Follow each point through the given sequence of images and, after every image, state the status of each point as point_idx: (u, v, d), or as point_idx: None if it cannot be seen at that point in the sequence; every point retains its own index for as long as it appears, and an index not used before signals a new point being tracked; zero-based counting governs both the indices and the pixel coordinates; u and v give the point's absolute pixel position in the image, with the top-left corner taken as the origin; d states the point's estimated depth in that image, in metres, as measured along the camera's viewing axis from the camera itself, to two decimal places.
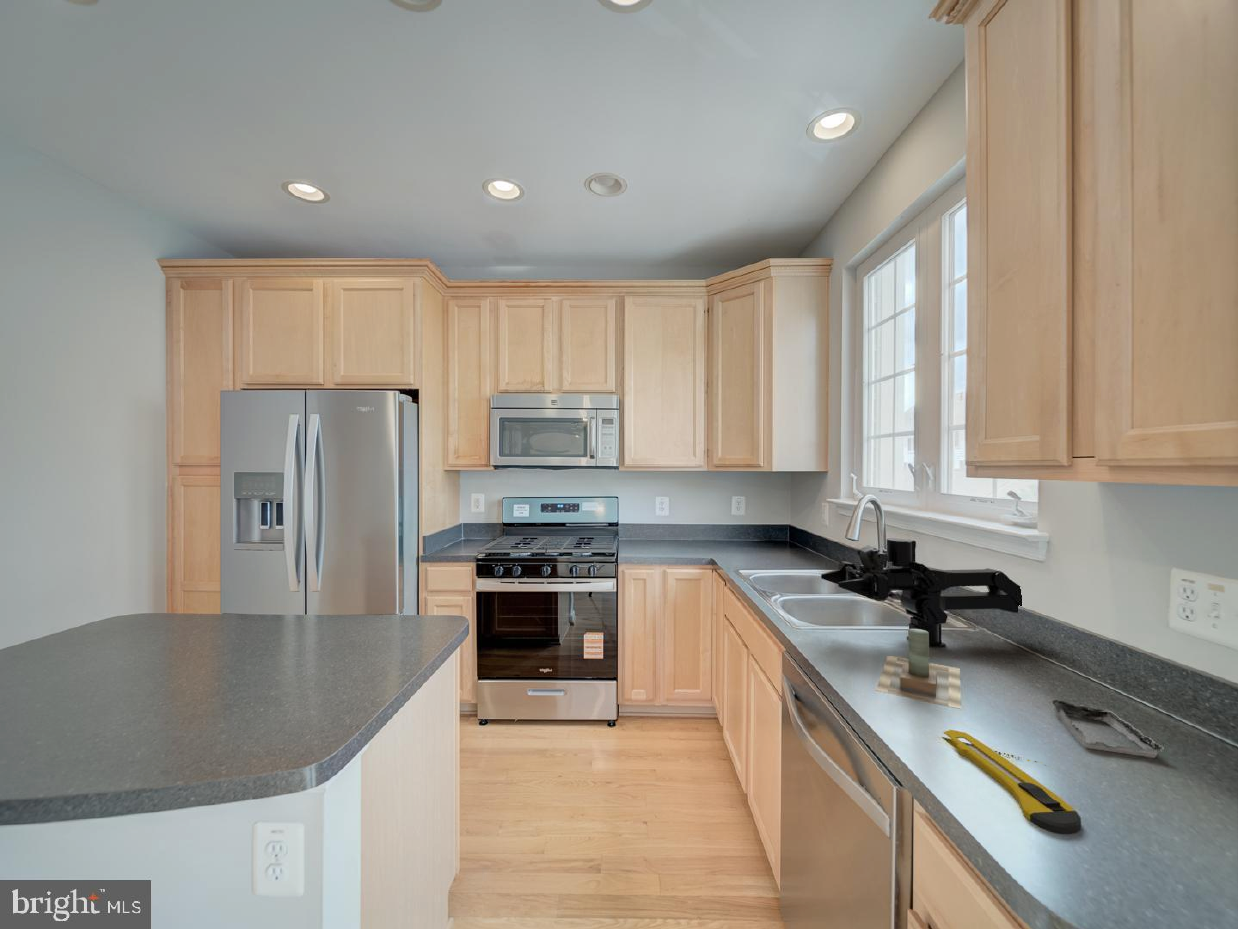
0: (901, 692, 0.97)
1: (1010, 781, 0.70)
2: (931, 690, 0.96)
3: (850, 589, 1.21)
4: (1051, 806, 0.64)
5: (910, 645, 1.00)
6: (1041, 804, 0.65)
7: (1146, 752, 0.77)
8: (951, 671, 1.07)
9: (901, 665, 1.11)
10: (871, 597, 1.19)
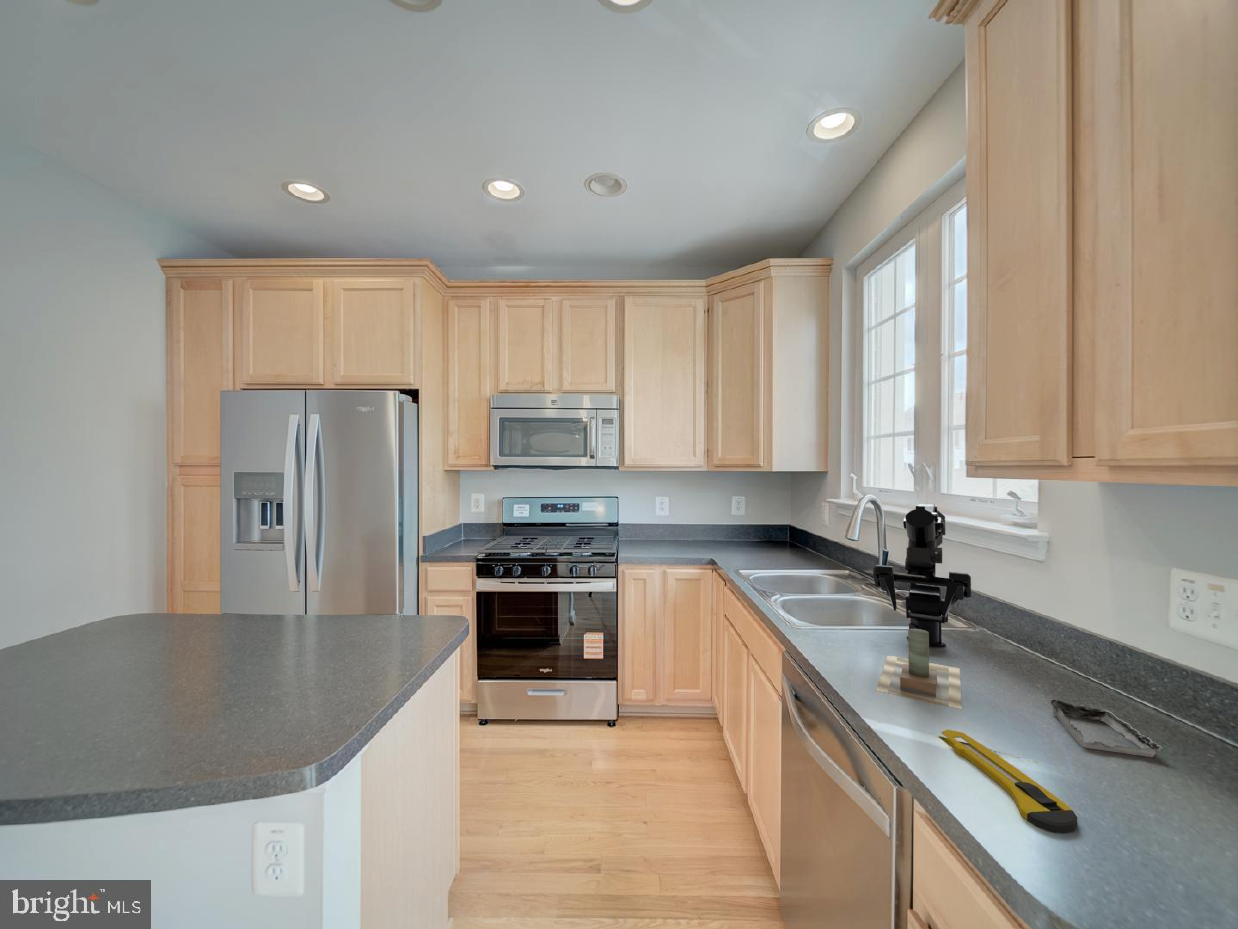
0: (901, 692, 0.97)
1: (1007, 780, 0.70)
2: (931, 690, 0.96)
3: (949, 609, 1.06)
4: (1048, 805, 0.64)
5: (910, 645, 1.00)
6: (1038, 803, 0.65)
7: (1144, 752, 0.77)
8: (951, 671, 1.07)
9: (901, 665, 1.11)
10: (961, 598, 1.08)
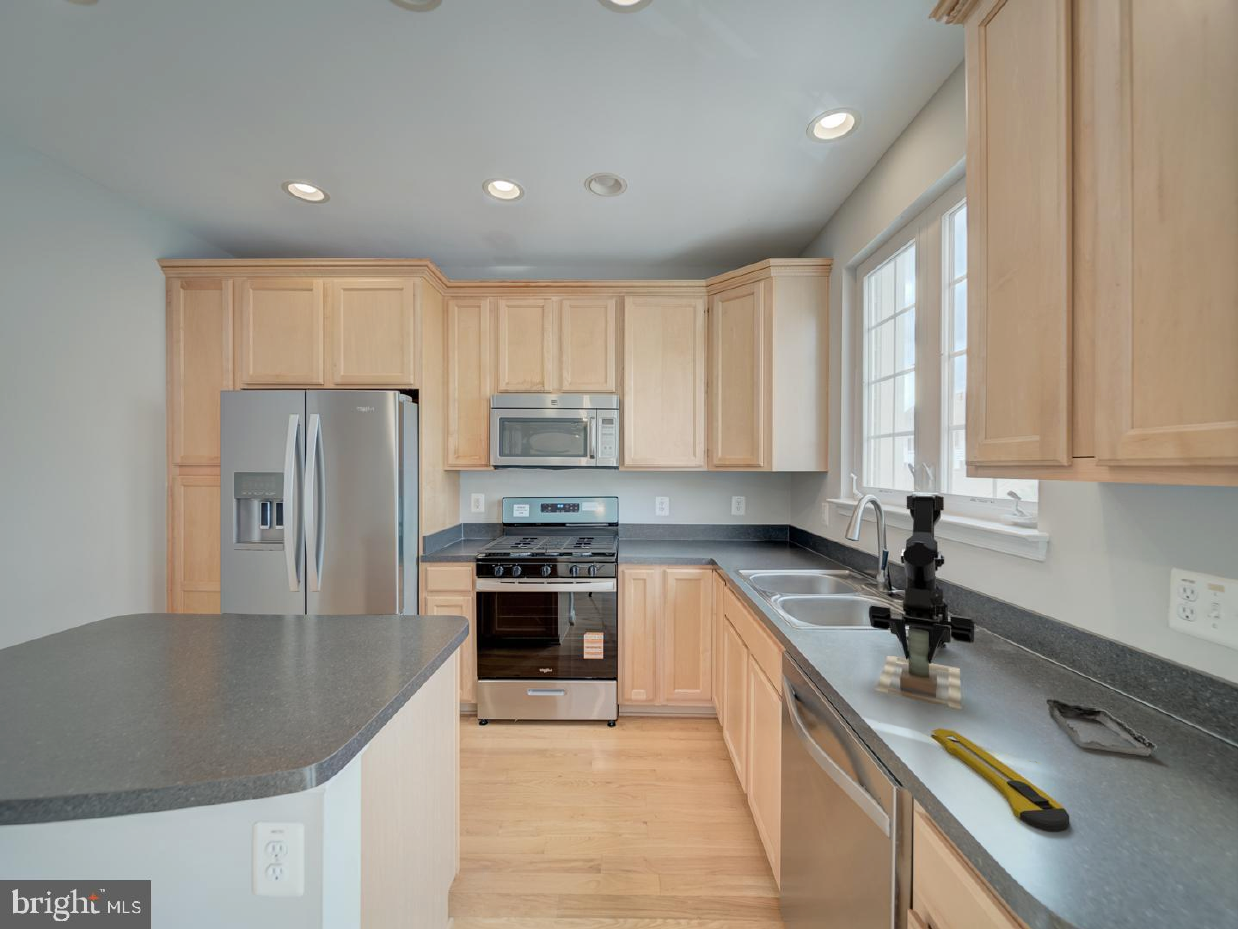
0: (901, 692, 0.97)
1: (999, 779, 0.70)
2: (931, 690, 0.96)
3: (935, 654, 1.00)
4: (1040, 804, 0.65)
5: (910, 645, 1.00)
6: (1030, 802, 0.65)
7: (1140, 750, 0.77)
8: (951, 671, 1.07)
9: (901, 665, 1.11)
10: (948, 641, 1.02)
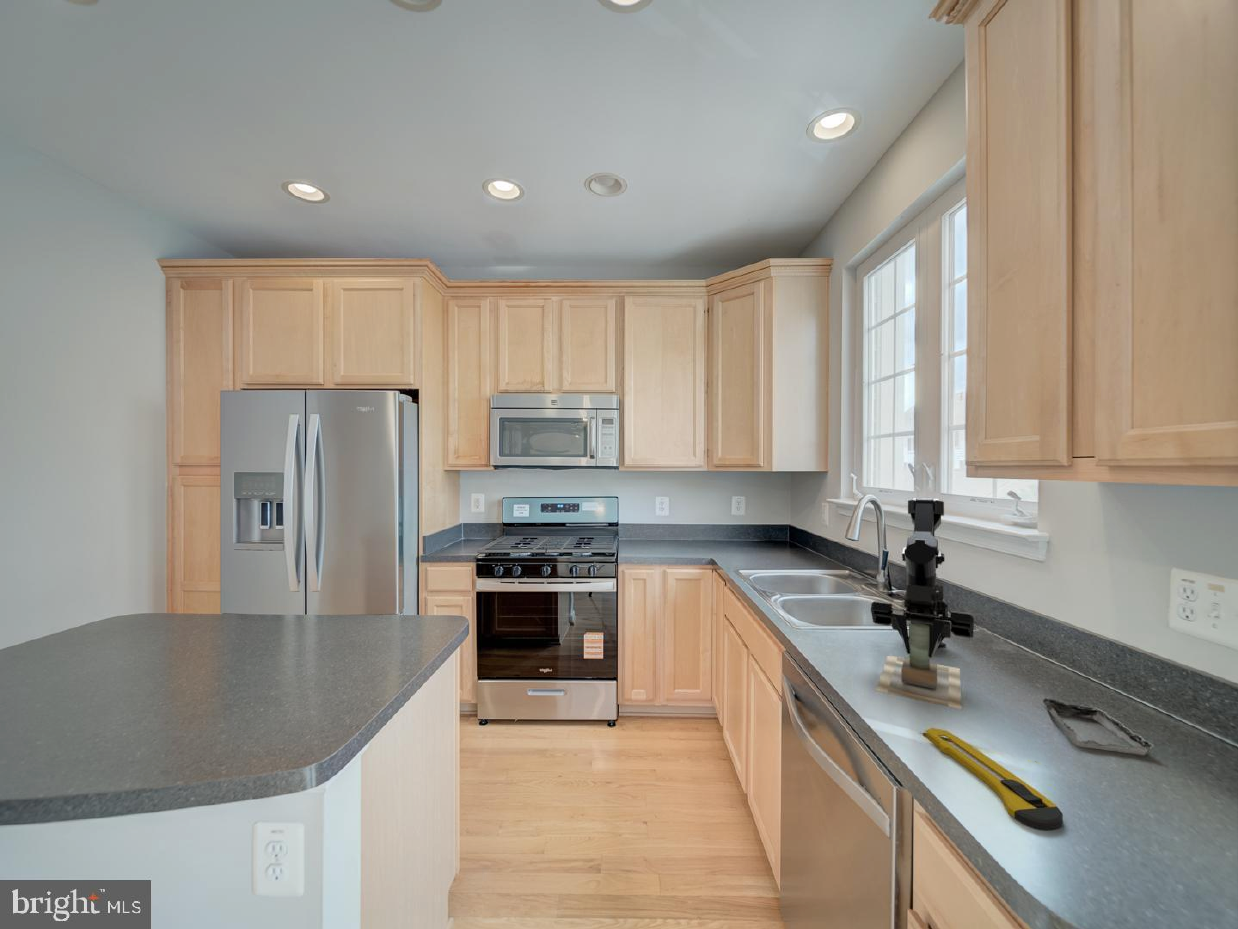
0: (901, 692, 0.97)
1: (993, 778, 0.70)
2: (932, 682, 0.98)
3: None
4: (1034, 802, 0.65)
5: (911, 639, 1.03)
6: (1024, 801, 0.65)
7: (1136, 750, 0.77)
8: (951, 671, 1.07)
9: (901, 665, 1.11)
10: (948, 636, 1.04)
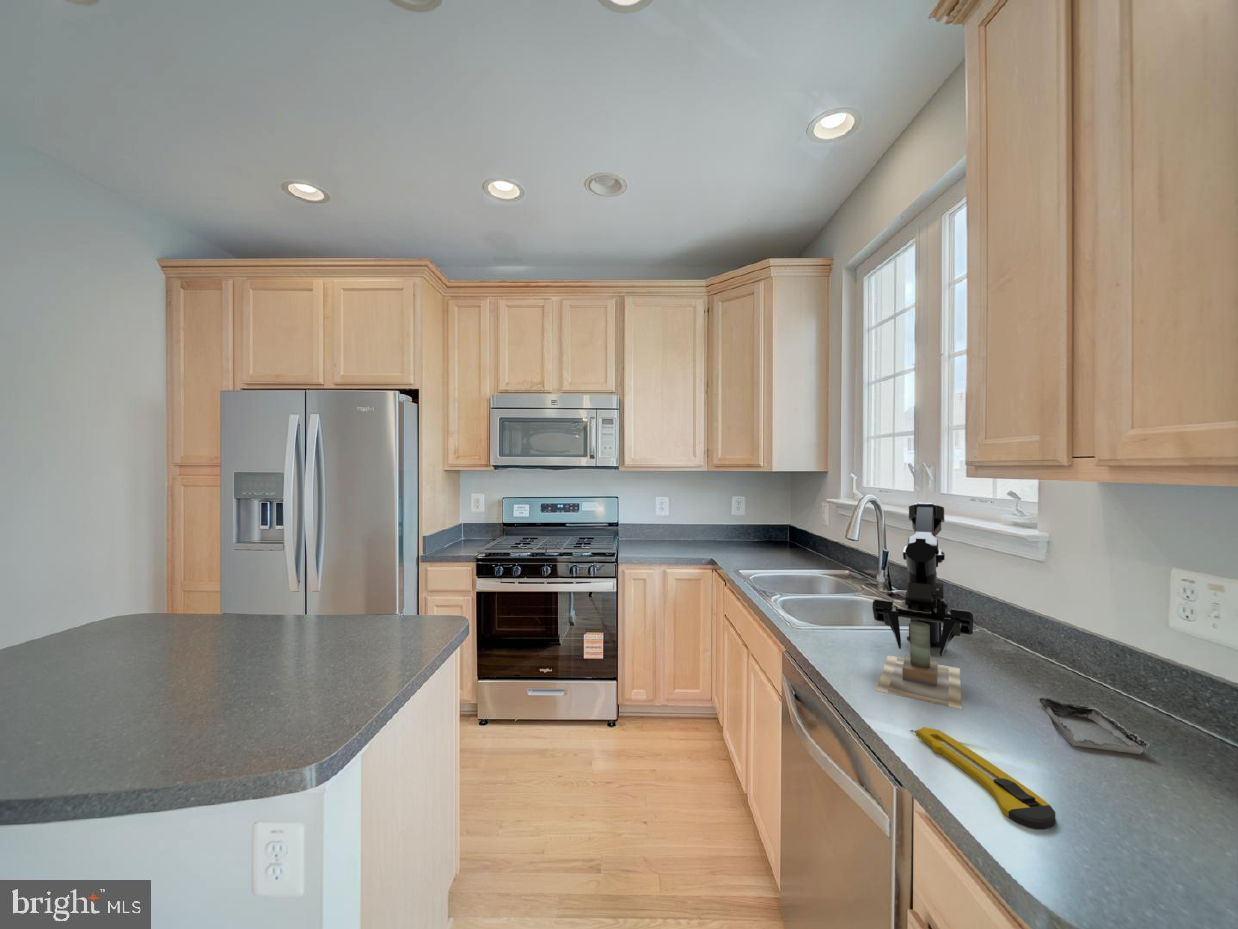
0: (901, 692, 0.97)
1: (986, 778, 0.70)
2: (932, 680, 1.00)
3: (946, 647, 1.04)
4: (1027, 801, 0.65)
5: (912, 637, 1.05)
6: (1017, 800, 0.66)
7: (1132, 749, 0.78)
8: (951, 671, 1.07)
9: (901, 665, 1.11)
10: (958, 635, 1.06)
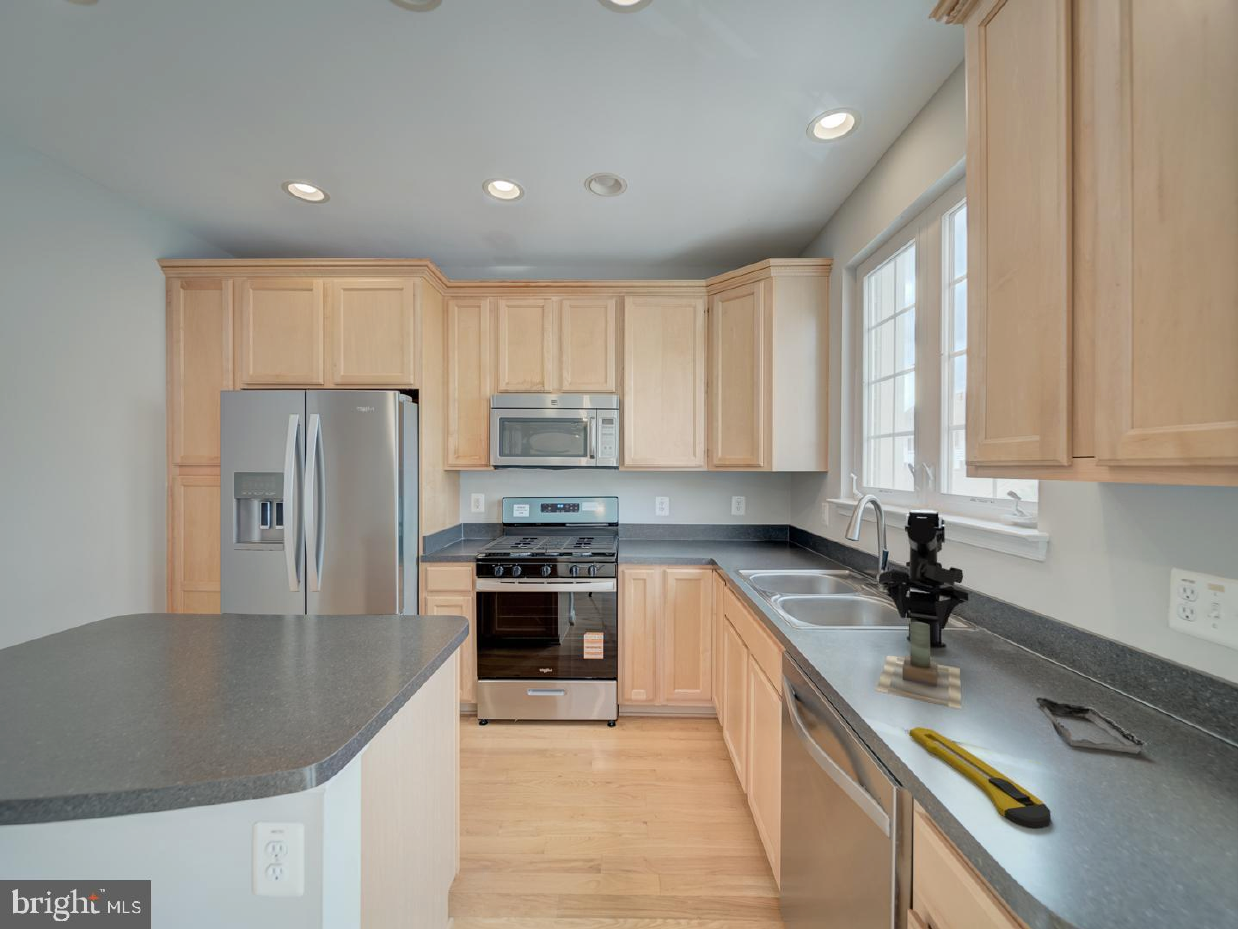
0: (901, 692, 0.97)
1: (981, 777, 0.70)
2: (932, 680, 1.00)
3: None
4: (1022, 800, 0.65)
5: (912, 637, 1.05)
6: (1013, 799, 0.66)
7: (1129, 748, 0.78)
8: (951, 671, 1.07)
9: (901, 665, 1.11)
10: None
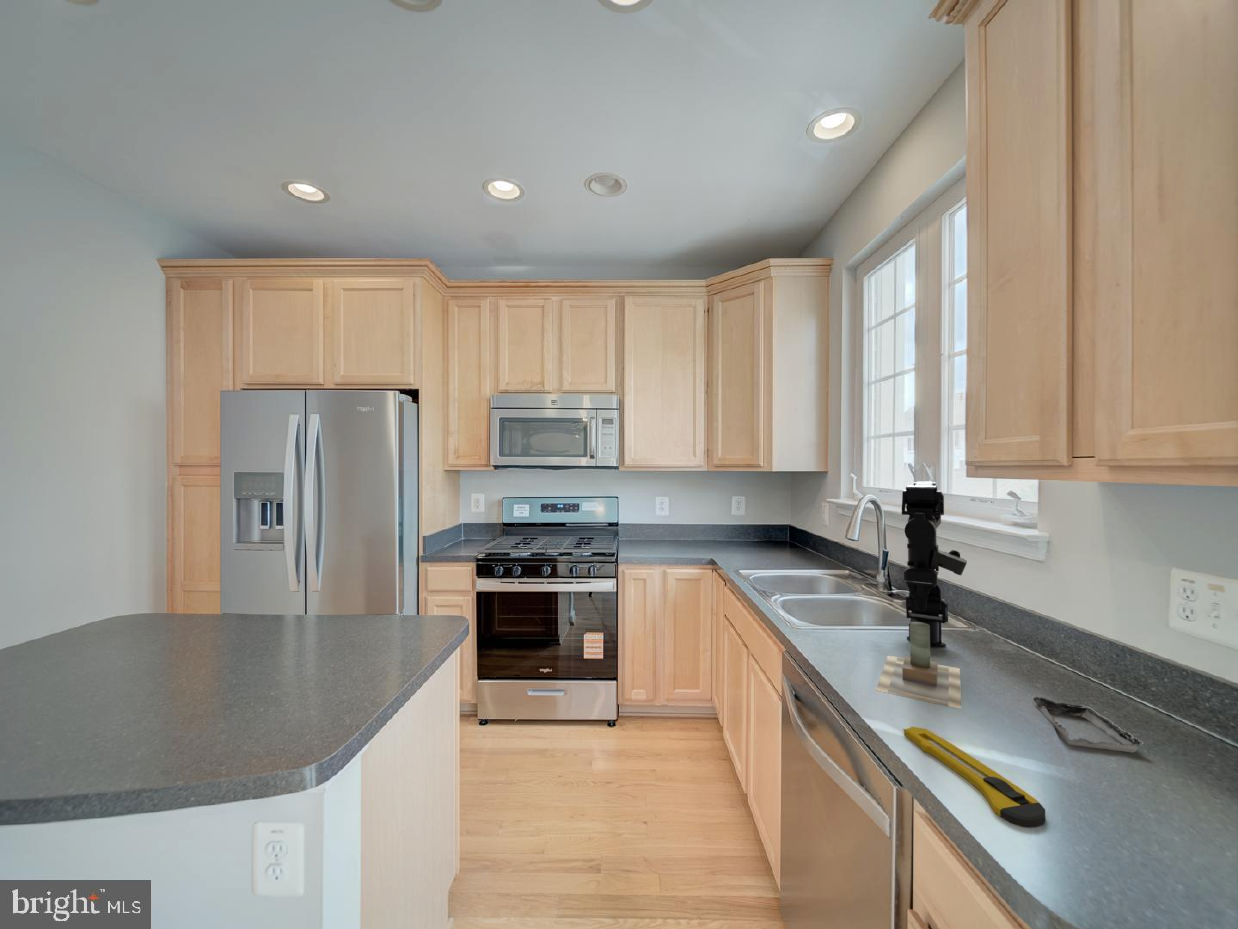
0: (901, 692, 0.97)
1: (976, 776, 0.71)
2: (932, 680, 1.00)
3: None
4: (1017, 799, 0.66)
5: (912, 637, 1.05)
6: (1008, 798, 0.66)
7: (1126, 747, 0.78)
8: (951, 671, 1.07)
9: (901, 665, 1.11)
10: None
